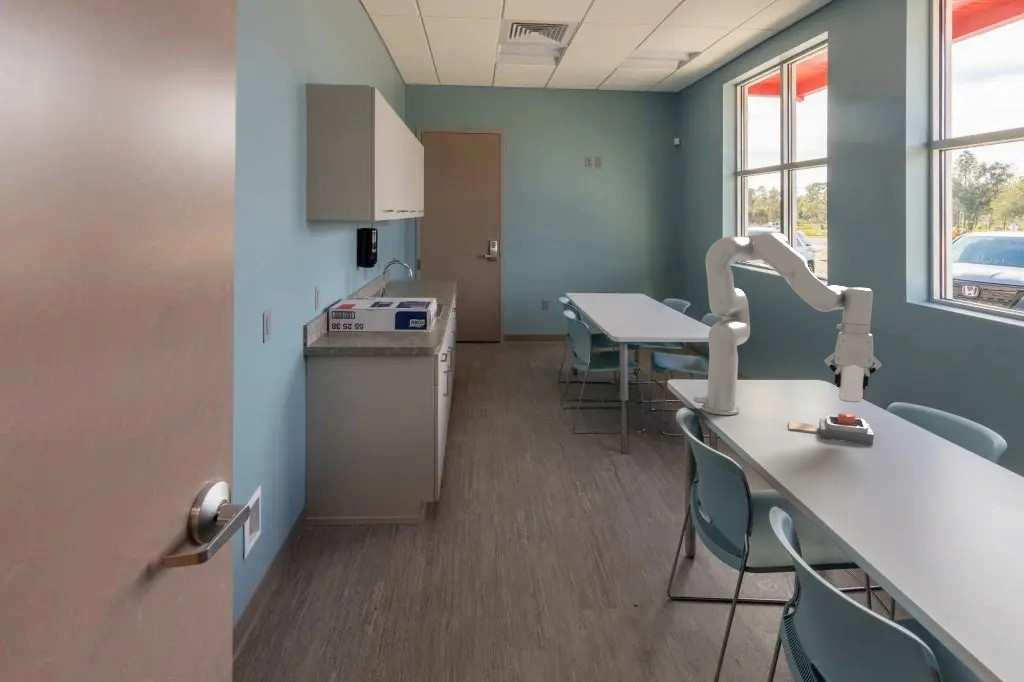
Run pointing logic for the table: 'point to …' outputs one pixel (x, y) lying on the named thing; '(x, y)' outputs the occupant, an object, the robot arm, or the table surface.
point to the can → (851, 383)
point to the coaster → (802, 427)
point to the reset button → (846, 419)
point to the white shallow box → (845, 430)
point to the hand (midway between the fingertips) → (850, 386)
